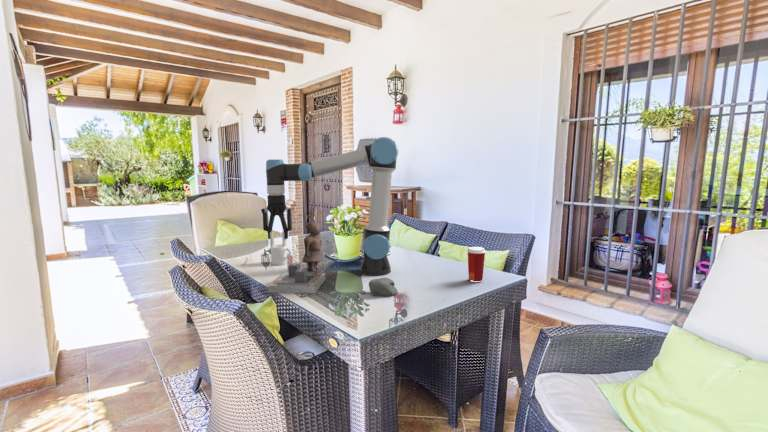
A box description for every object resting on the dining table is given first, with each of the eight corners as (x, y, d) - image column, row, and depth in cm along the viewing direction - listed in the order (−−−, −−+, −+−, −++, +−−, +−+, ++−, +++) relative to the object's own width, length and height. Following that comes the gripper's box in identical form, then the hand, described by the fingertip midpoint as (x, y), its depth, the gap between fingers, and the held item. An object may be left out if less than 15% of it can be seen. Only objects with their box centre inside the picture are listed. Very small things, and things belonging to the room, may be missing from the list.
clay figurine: (314, 274, 186) (312, 223, 183) (297, 272, 190) (295, 222, 187) (328, 267, 198) (327, 220, 195) (312, 265, 202) (310, 219, 199)
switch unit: (325, 279, 177) (325, 270, 177) (314, 293, 158) (314, 284, 157) (283, 278, 179) (283, 270, 178) (267, 292, 159) (267, 283, 158)
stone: (394, 298, 150) (383, 276, 151) (375, 306, 153) (364, 284, 153) (400, 291, 159) (389, 270, 159) (382, 299, 162) (371, 278, 162)
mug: (286, 266, 200) (286, 248, 199) (268, 264, 205) (267, 246, 204) (296, 263, 208) (295, 245, 206) (278, 261, 212) (277, 244, 211)
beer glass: (486, 279, 175) (487, 247, 173) (483, 284, 168) (483, 251, 166) (468, 277, 178) (468, 245, 177) (464, 282, 171) (464, 249, 169)
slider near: (307, 280, 165) (307, 267, 164) (304, 283, 160) (303, 270, 159) (298, 280, 165) (298, 267, 164) (295, 283, 160) (294, 270, 160)
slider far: (300, 273, 175) (300, 261, 174) (297, 276, 170) (297, 264, 170) (292, 273, 176) (291, 261, 175) (288, 276, 171) (288, 264, 170)
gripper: (298, 193, 172) (300, 244, 175) (259, 194, 173) (262, 244, 176) (293, 195, 164) (295, 247, 167) (253, 195, 166) (255, 247, 169)
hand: (278, 245), depth 172 cm, fingers open, 5 cm apart
